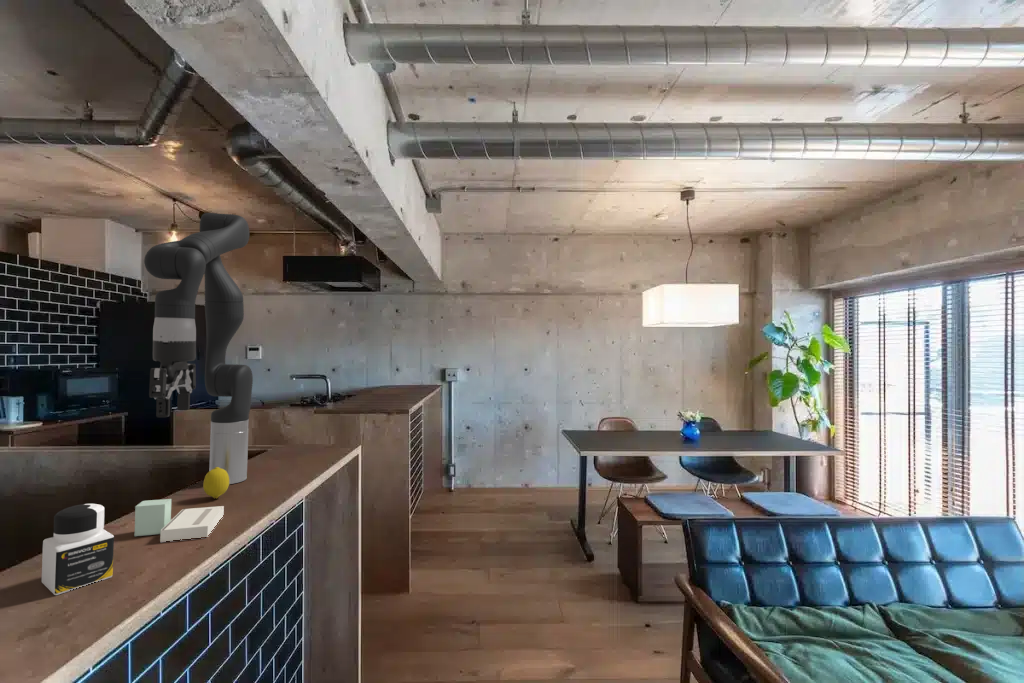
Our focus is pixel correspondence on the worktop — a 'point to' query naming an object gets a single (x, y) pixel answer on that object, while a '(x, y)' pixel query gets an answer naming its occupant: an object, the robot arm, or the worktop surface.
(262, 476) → the worktop surface
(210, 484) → the lemon
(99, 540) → the medicine bottle
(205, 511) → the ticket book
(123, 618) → the worktop surface
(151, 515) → the pale green block
